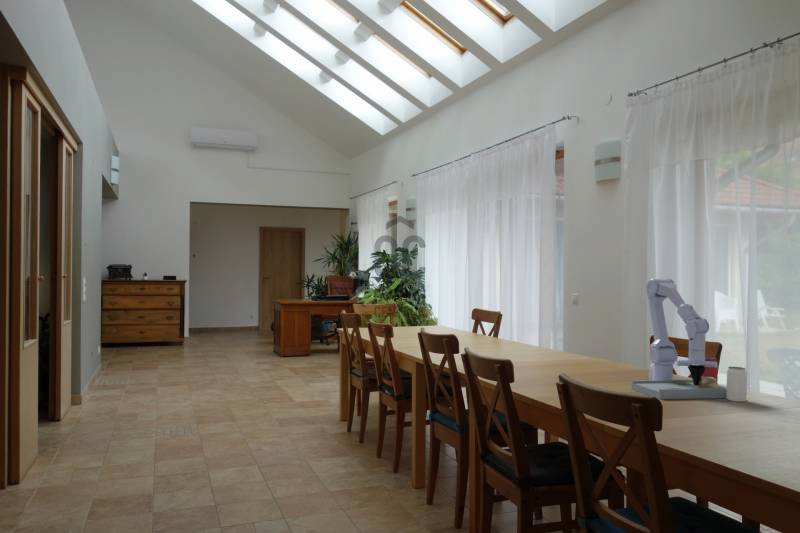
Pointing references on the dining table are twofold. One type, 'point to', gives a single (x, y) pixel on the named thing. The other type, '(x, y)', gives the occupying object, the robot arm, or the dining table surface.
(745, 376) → the can
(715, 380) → the block
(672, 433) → the dining table surface
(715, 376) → the beer can
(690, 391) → the trap box
